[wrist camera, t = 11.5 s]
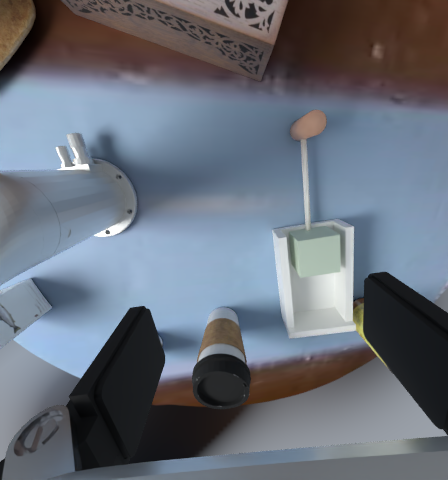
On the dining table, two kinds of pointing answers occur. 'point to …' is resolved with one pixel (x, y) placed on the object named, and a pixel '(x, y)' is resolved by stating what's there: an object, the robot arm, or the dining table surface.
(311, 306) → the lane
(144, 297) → the dining table surface
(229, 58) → the tissue box cover
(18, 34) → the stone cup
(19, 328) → the supplement box
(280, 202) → the dining table surface
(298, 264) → the sliding handle
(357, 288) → the dining table surface
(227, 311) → the coffee cup
